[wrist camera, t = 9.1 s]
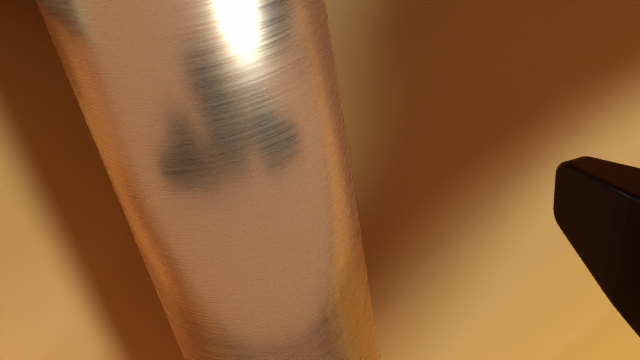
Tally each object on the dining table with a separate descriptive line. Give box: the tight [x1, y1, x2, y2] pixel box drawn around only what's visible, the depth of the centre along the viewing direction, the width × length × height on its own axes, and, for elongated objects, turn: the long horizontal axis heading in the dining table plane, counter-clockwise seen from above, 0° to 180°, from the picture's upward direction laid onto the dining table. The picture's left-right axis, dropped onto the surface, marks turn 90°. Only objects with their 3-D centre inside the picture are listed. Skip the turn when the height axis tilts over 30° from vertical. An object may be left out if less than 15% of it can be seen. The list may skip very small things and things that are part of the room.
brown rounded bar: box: [36, 0, 380, 360], centre depth 11 cm, size 15×4×4 cm, turn 10°
